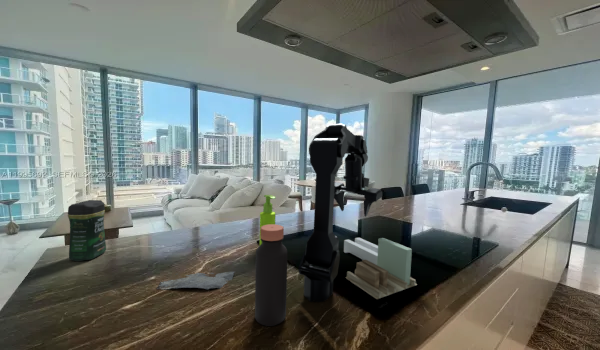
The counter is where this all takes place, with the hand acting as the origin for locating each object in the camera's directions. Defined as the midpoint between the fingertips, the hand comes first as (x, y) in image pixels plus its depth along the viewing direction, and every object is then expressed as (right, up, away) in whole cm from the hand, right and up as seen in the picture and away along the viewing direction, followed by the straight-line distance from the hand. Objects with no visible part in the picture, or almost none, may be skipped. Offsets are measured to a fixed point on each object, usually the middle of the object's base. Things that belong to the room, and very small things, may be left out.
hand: (353, 213), depth 90 cm
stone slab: (-48, -16, -21) cm, 55 cm away
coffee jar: (-90, -13, -7) cm, 91 cm away
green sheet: (+7, -16, -18) cm, 25 cm away
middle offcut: (+1, -16, -22) cm, 27 cm away
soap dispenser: (-32, -14, +6) cm, 35 cm away
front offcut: (-2, -16, -23) cm, 28 cm away
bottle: (-26, -17, -36) cm, 47 cm away
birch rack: (+3, -17, -21) cm, 27 cm away
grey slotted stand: (+4, -15, -3) cm, 16 cm away
